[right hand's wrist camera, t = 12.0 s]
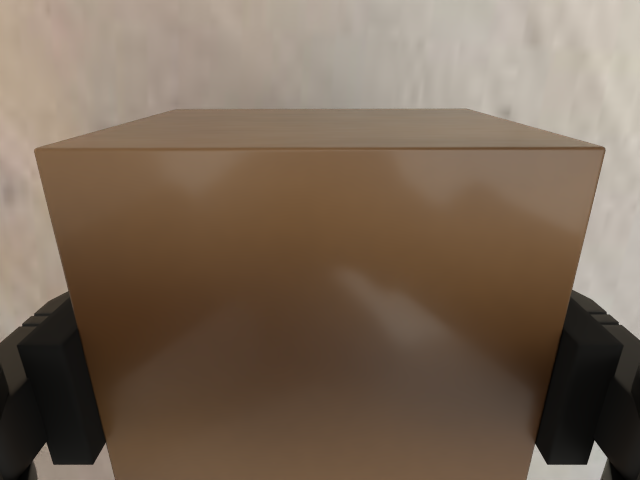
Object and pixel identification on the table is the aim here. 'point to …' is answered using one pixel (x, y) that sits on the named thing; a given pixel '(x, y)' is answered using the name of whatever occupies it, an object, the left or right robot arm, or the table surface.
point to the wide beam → (320, 288)
